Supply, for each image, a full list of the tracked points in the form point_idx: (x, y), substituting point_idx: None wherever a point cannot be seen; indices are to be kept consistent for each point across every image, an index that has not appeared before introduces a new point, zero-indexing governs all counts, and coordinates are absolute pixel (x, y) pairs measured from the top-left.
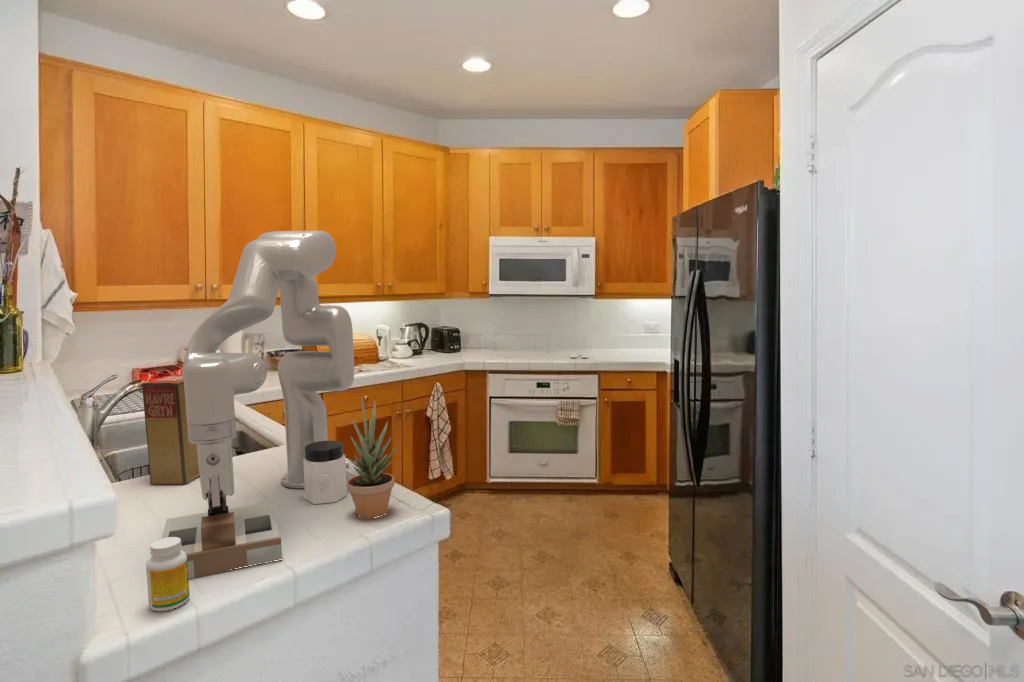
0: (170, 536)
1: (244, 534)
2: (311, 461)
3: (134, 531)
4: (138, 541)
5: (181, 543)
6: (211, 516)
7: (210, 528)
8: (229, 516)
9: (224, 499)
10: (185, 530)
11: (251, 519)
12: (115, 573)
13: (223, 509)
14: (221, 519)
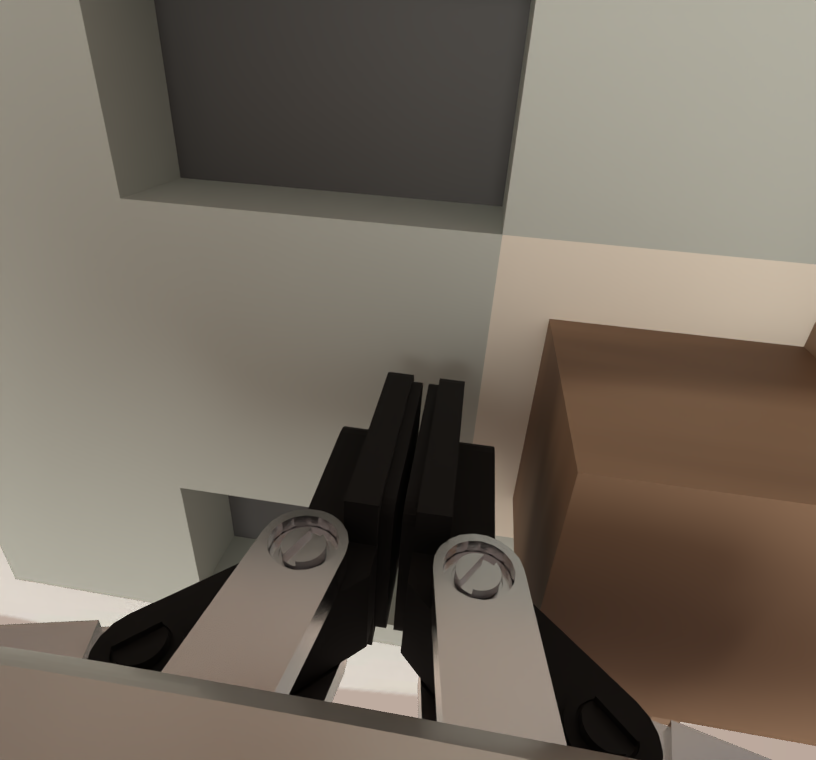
0: (214, 566)
1: (491, 241)
2: None
3: (18, 597)
4: (128, 599)
5: (239, 500)
6: None
7: None
8: (720, 534)
9: (551, 715)
10: (193, 528)
11: (118, 130)
12: (415, 676)
13: (511, 580)
14: (744, 603)
